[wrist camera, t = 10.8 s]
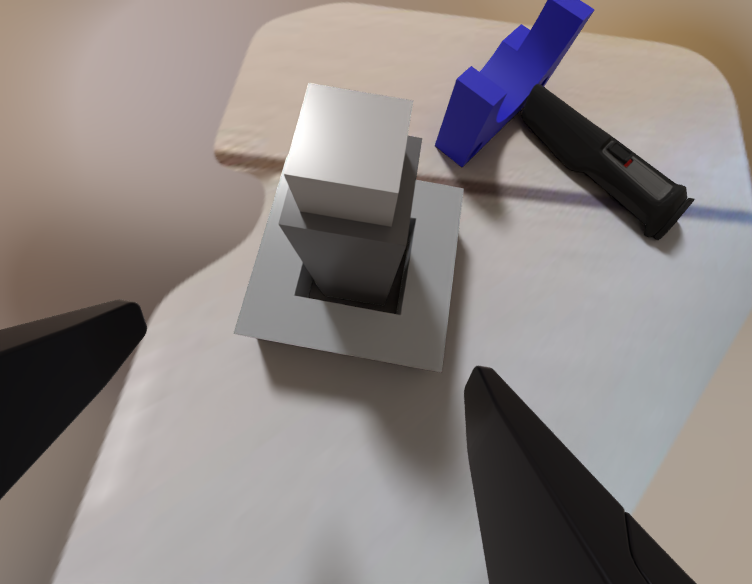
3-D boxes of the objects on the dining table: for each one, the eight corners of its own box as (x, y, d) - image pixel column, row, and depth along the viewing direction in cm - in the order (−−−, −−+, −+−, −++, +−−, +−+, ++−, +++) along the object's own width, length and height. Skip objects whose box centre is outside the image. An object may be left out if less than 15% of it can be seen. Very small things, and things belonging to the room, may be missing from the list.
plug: (384, 305, 20) (417, 216, 8) (323, 295, 20) (256, 189, 8) (392, 249, 21) (435, 88, 9) (335, 239, 21) (293, 64, 9)
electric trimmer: (529, 104, 26) (552, 69, 23) (674, 217, 23) (721, 195, 20) (503, 127, 25) (522, 93, 22) (650, 246, 22) (695, 227, 19)
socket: (428, 370, 19) (445, 373, 15) (256, 338, 19) (226, 332, 15) (448, 214, 22) (467, 181, 18) (299, 187, 22) (283, 147, 18)
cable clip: (503, 61, 26) (543, -24, 20) (542, 88, 26) (594, 9, 20) (420, 136, 24) (438, 65, 18) (461, 169, 23) (493, 106, 18)
